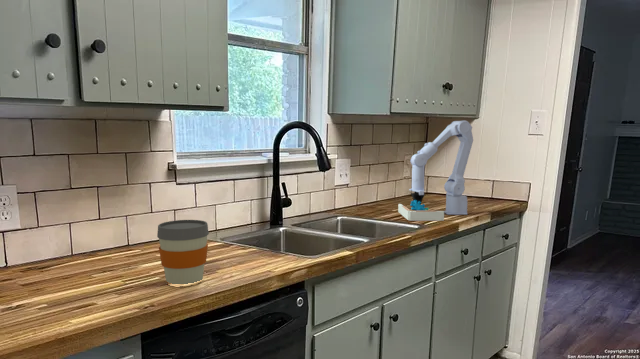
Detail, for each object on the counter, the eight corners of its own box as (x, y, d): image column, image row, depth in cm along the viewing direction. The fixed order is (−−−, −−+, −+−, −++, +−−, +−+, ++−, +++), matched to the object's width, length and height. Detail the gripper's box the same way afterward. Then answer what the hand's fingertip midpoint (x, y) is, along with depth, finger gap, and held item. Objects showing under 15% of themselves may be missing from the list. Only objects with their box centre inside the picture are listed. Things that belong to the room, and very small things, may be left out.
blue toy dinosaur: (417, 216, 202) (408, 198, 208) (410, 223, 206) (401, 206, 212) (435, 217, 208) (425, 199, 214) (427, 224, 212) (417, 207, 218)
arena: (430, 211, 223) (430, 203, 222) (443, 220, 200) (444, 210, 200) (398, 211, 222) (398, 203, 222) (408, 220, 200) (408, 211, 199)
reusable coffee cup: (191, 271, 126) (190, 217, 125) (219, 280, 118) (218, 223, 117) (149, 282, 117) (147, 224, 115) (176, 293, 109) (175, 231, 107)
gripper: (406, 178, 221) (405, 205, 222) (413, 181, 206) (412, 210, 208) (420, 178, 221) (419, 205, 223) (428, 181, 207) (428, 210, 208)
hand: (417, 208), depth 215 cm, fingers closed
